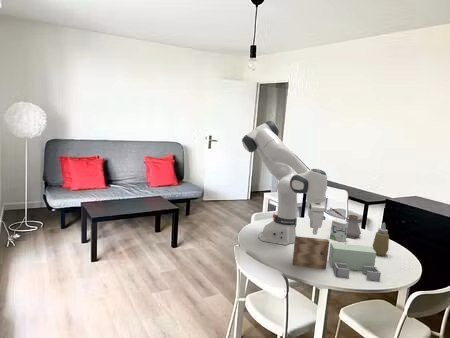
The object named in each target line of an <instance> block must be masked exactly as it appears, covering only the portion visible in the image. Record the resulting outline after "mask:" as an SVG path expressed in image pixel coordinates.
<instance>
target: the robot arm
mask: <svg viewBox="0 0 450 338" xmlns="http://www.w3.org/2000/svg"><path fill="white" fill-rule="evenodd" d="M279 133H280V131H279V127H278V126H277V124H276V123H275V122H274V121H272V120H268V121H267V120H266V121H265V122H264V123H262V124H260V125H258V126H256V127H255V128H254V129H253V130H251V131H250V132H249V133H246V134H245V135H244V136H243V137H242V139H241V142H242V143H241V144H242V146H243V148H244V149H245V150H246V151H247V152H249V153H255V152H257V153H258V156H259V158H260V159H261V161H262V163H263V164H264V165H265V167H266V168H267V170H268V171H269V173H270V174H271V175H273V176H274V177H275V178H276V179H277V181H278V182H277V186H276V190H277V201H278V205H277V214H276V213H272V221H271V222H268V223H266V224H265V226H264V227H263V229H262V231H260V232H259V233H258V239H259V240H260V241H261V242H266V243H272V244H278V245H284V246H288V245H290V244H294V243H295V236H297V233H296V230H297V229H296V227H297V223H298V218H297V212H298V195H297V194H306V203H305V206H306V207H307V209H308V211H307V217H308V219H309V228H310V229H312V234H313V235H317V234H318V230H319V229H320V228H322V226H323V221H324V214H325V212H326V210H327V209H326V203H327V202H326V199H327V196H326V193H327V189H328V175H327V174H328V173H327V172H326V171H324V170H322V169H319V168H310V167H308V165H306V164H305V163H304V161H303V160H301V159H300V158H299V157H298V155H296V154H295V153H294V152H293V151H292V150H291V149H290V148H288V146H286V144H285V143H284V142H283V141H282V140H281V139H280V138H279Z"/></svg>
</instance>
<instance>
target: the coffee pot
mask: <svg viewBox="0 0 450 338" xmlns="http://www.w3.org/2000/svg"><path fill="white" fill-rule="evenodd" d="M331 210H332V211H333V212H334V213H335V214H337V215H338V216H341V217H342V218H344V219H345V221H346V222H348V228H347V235H346V238H352V239H353V238H355V239H357V238H358V237H359V236H361V234H362V231H361V228H360V226H359V222H358V219H359V218H360V217H359V216H358V215H356V214H355V215H354V214H348V215H347V217H348V218H347V217H346V216H344V215H343V214H341V213H340V212H339V211H337V210H336V209H335V208H334V209H333V208H332V207H330V209H329V211H331Z"/></svg>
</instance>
